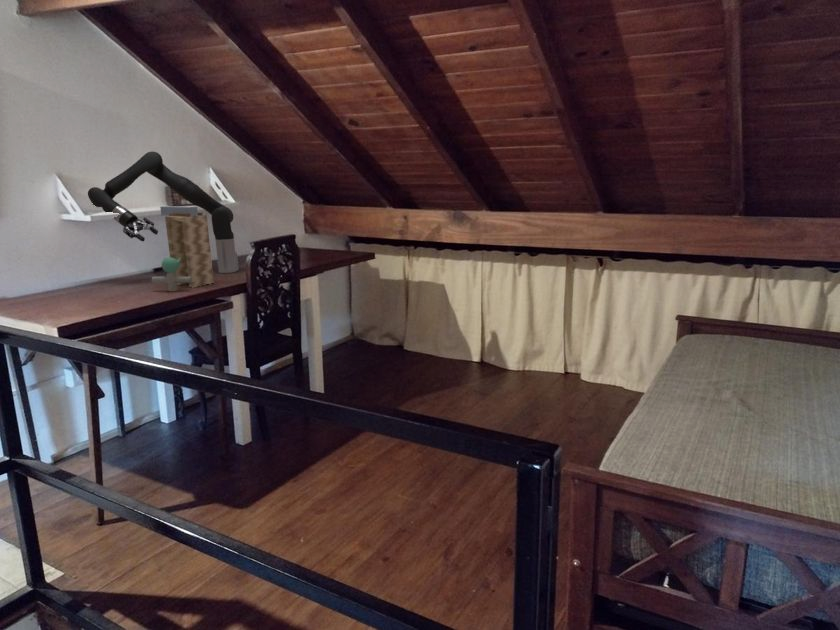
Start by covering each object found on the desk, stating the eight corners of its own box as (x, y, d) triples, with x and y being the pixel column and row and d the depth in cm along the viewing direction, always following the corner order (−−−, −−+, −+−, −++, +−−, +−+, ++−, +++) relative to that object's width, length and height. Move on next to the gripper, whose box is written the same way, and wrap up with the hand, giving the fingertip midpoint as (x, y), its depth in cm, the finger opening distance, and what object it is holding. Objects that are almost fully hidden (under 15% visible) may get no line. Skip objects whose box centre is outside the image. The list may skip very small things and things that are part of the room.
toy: (196, 289, 282) (192, 256, 278) (189, 292, 275) (185, 258, 272) (157, 289, 284) (153, 256, 280) (149, 292, 277) (145, 258, 274)
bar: (168, 214, 295) (167, 206, 294) (197, 215, 284) (196, 206, 283) (161, 215, 292) (160, 206, 291) (190, 216, 280) (189, 207, 279)
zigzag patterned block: (195, 281, 302) (187, 211, 294) (214, 283, 294) (206, 212, 286) (173, 285, 292) (164, 213, 284) (192, 288, 284) (183, 214, 276)
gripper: (134, 217, 306) (160, 236, 305) (111, 228, 295) (138, 248, 294) (136, 206, 301) (162, 225, 300) (113, 216, 290) (140, 236, 289)
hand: (150, 236), depth 297 cm, fingers open, 8 cm apart
